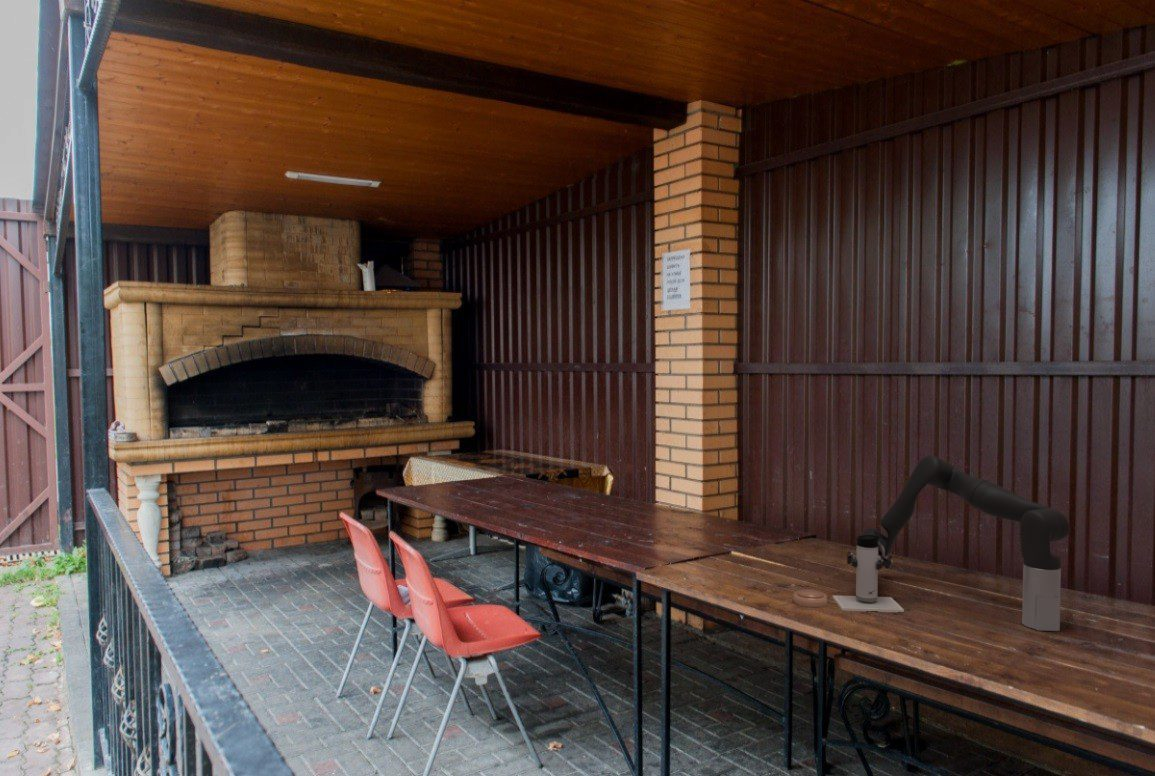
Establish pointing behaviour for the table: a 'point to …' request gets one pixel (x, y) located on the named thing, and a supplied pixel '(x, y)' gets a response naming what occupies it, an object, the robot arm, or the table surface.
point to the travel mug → (867, 568)
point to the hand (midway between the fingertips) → (866, 565)
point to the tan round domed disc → (810, 598)
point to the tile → (867, 604)
